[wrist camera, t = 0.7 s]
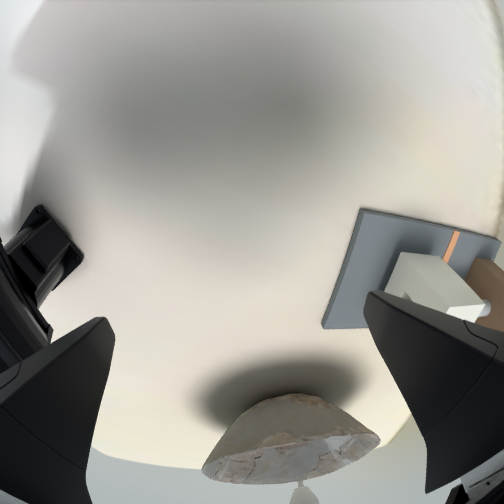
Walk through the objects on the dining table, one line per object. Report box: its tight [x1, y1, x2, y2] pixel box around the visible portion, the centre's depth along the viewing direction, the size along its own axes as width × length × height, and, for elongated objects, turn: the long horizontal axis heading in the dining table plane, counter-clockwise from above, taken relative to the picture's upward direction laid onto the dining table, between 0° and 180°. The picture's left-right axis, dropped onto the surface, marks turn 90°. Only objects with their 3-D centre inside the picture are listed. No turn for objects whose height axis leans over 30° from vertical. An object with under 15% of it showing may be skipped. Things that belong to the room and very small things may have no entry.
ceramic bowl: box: [202, 394, 380, 484], centre depth 30 cm, size 22×23×10 cm
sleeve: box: [384, 252, 485, 323], centre depth 19 cm, size 5×7×7 cm
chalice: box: [290, 480, 319, 504], centre depth 39 cm, size 7×7×18 cm
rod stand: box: [321, 209, 504, 332], centre depth 20 cm, size 22×12×10 cm, turn 82°
